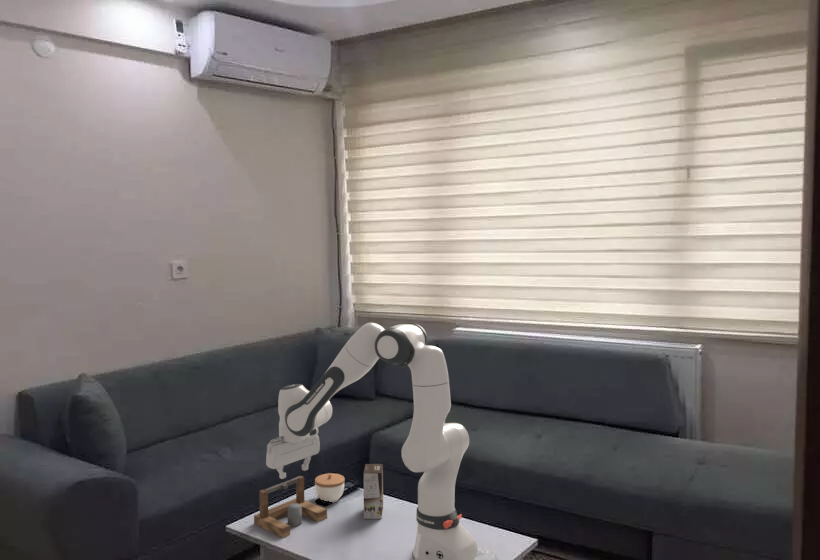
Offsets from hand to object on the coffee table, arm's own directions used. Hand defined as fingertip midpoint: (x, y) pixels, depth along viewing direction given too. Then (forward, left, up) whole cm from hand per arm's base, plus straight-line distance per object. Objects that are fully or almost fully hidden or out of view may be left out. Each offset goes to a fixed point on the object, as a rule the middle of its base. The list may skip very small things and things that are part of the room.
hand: (294, 473), depth 228 cm
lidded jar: (+6, -21, -18) cm, 28 cm away
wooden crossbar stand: (+3, -1, -17) cm, 17 cm away
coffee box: (-14, -23, -18) cm, 32 cm away
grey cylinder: (0, 0, -17) cm, 17 cm away
